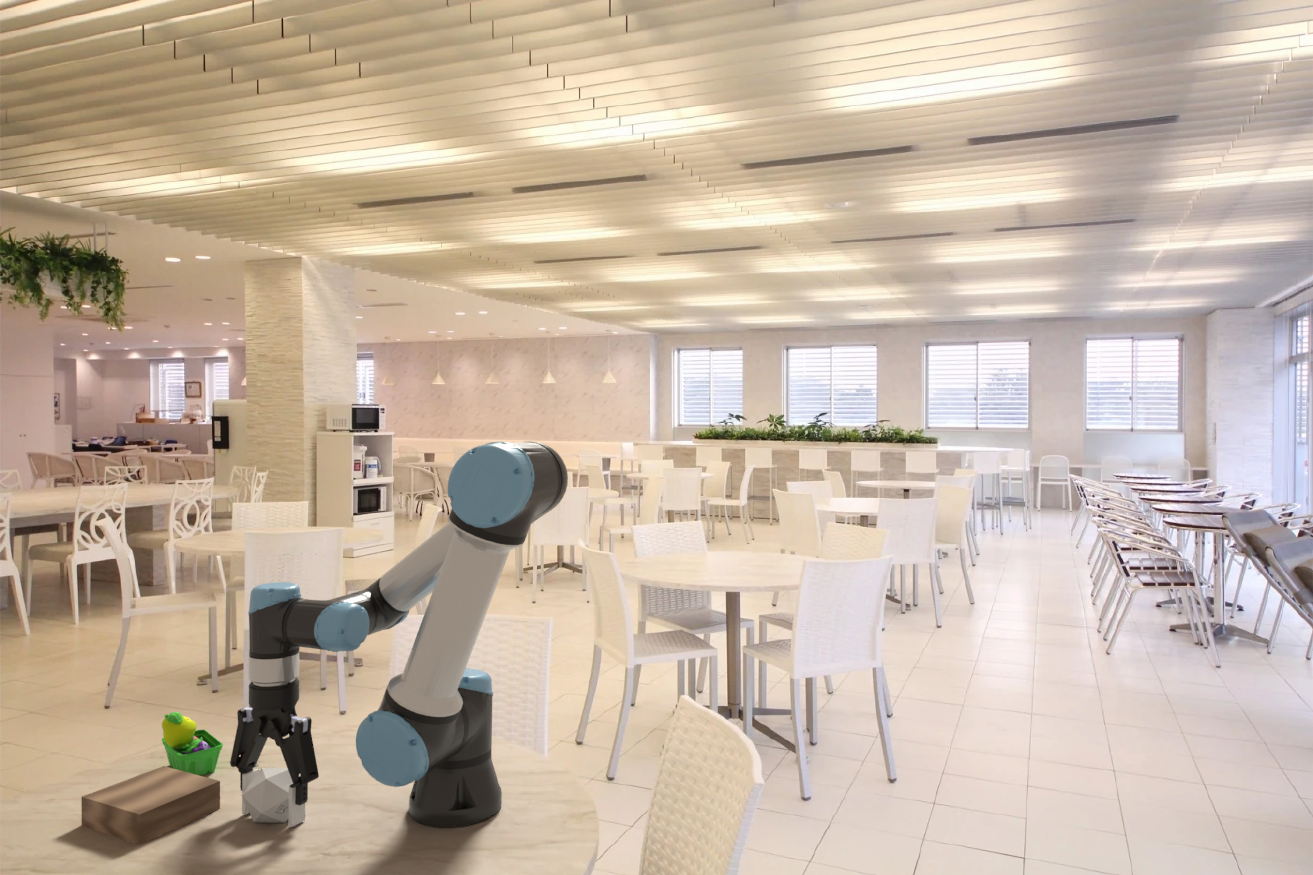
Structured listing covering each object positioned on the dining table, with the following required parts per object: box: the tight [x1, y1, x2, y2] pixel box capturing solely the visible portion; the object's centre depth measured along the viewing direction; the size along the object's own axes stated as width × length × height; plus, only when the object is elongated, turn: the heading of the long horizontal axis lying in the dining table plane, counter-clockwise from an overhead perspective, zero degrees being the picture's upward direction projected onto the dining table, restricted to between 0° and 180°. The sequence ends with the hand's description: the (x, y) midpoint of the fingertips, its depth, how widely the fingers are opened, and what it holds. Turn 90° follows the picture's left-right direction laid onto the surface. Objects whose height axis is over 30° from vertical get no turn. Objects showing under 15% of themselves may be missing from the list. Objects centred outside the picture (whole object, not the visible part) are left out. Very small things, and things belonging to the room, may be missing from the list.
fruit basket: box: [161, 711, 224, 776], centre depth 163 cm, size 11×9×11 cm
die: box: [241, 767, 293, 823], centre depth 143 cm, size 8×9×10 cm
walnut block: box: [81, 765, 221, 845], centre depth 143 cm, size 14×14×5 cm
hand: (273, 816), depth 143 cm, fingers open, 9 cm apart
